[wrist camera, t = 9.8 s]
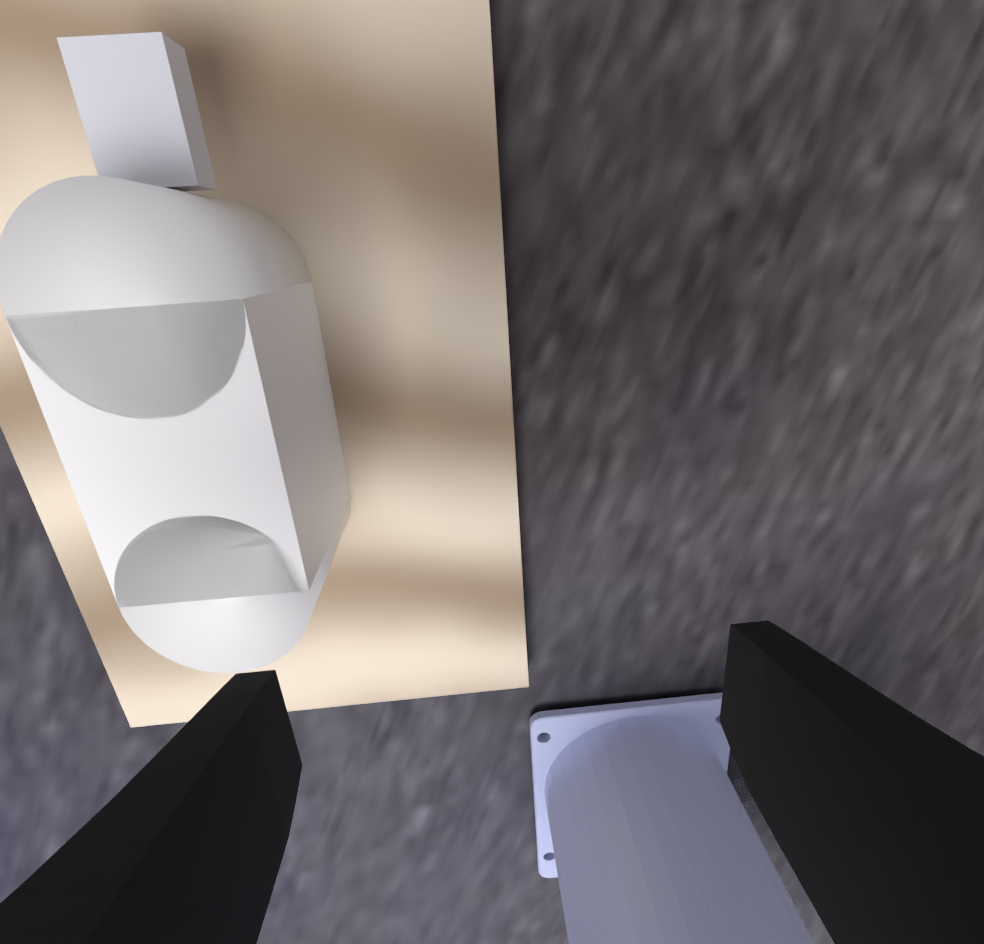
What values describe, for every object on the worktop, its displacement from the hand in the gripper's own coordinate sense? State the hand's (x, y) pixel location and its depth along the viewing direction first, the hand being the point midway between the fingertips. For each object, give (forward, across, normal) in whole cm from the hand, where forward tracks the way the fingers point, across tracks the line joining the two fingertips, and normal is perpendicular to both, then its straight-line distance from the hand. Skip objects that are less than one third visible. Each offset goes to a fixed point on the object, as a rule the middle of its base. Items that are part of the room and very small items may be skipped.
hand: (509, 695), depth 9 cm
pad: (+9, +6, -3) cm, 12 cm away
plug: (+8, +6, -4) cm, 11 cm away
